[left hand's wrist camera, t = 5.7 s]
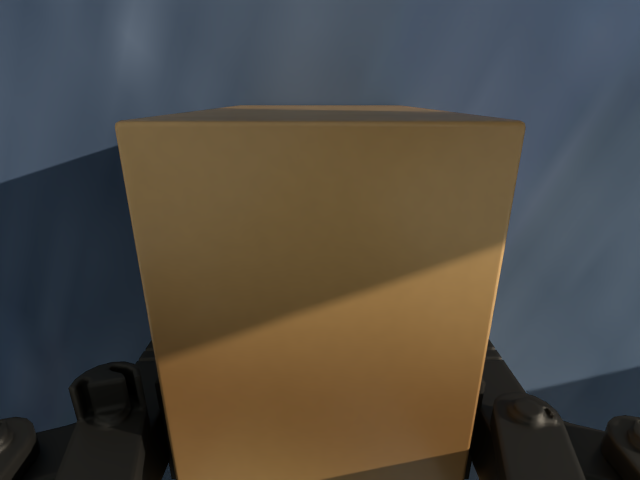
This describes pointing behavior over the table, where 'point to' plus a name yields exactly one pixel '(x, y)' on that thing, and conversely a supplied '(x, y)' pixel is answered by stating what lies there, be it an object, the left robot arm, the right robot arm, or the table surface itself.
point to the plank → (320, 283)
